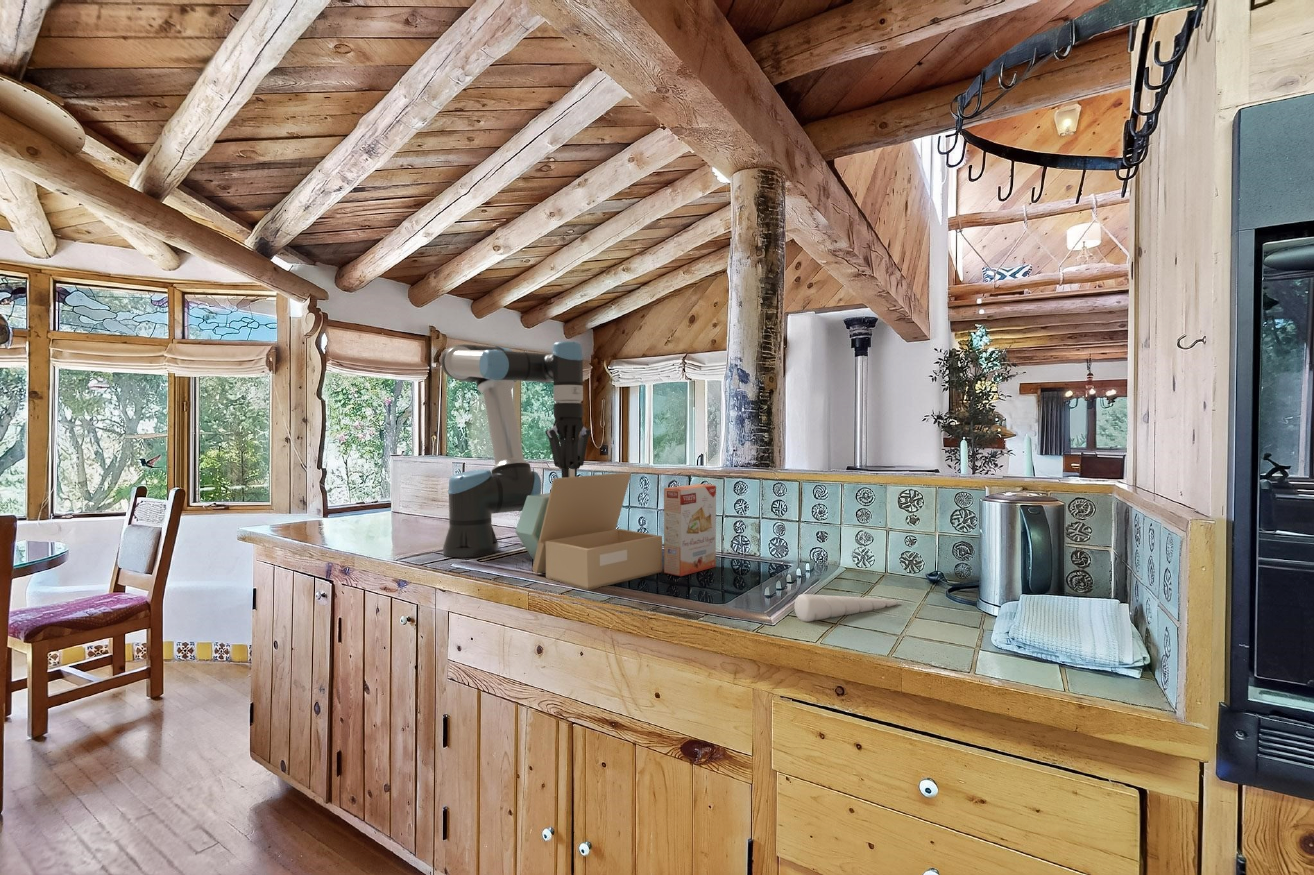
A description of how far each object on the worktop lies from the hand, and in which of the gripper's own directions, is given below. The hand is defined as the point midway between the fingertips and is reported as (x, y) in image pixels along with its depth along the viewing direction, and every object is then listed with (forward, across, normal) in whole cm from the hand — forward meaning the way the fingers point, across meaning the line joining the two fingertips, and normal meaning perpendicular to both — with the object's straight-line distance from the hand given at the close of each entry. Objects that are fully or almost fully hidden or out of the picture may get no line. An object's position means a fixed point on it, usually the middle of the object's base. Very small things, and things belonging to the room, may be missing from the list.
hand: (569, 494), depth 154 cm
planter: (+19, +2, +11) cm, 22 cm away
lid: (+7, 0, -7) cm, 10 cm away
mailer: (+18, 0, -14) cm, 23 cm away
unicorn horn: (+19, +13, -70) cm, 74 cm away
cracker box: (+19, +18, -26) cm, 37 cm away
